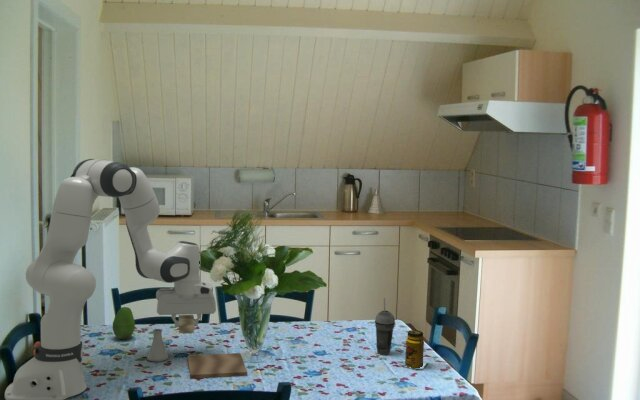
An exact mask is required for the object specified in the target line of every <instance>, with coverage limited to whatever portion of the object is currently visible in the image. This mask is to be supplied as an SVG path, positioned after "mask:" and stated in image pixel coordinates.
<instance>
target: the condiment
mask: <svg viewBox="0 0 640 400" xmlns="http://www.w3.org/2000/svg"><path fill="white" fill-rule="evenodd" d="M406 337H407V338H406V340H405V357H404V358H405V359H404V360H405V362H404V363H405V365H406V366H407V367H411V368H420V367H422V366H423V362H424V351H425V350H424V349H425V347H424V346H425V340H424V332H423V331H421V330H416V329H411V330H408V331H407V336H406Z"/></svg>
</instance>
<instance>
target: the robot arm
mask: <svg viewBox="0 0 640 400" xmlns="http://www.w3.org/2000/svg"><path fill="white" fill-rule="evenodd" d="M72 172H73V173H72V174H71V175H70V177H67V178H65V179H63V180H62V181H61V182H60V184H59V186H58V189H57V192H56V194H55V197H54V202H53V205H52V210H51V216H50V220H49V221H50V222H49V225H48V231H47V236H46V238H45V242H44V244H43V246H42V248H41V250H40V253H38V255H37V257H36V259H34V260H33V261H32V262H30V264H29V265H28V266H27V268H26V271H25V279H26V282H27V284H28V286H29V287H31V288H32V289H33V290H34V291H36V292H37V293H39V294H41V295H45V296H48V297H49V305H48V308H47V311H46V313H45V314H44V315H42V317H41V319H40V340H39V341H36V342H35V343H34V345H33V357H32V358H31V359H30V360H28V361H27V362H25V363H24V364H22V365H21V366H20V367H19V368H18V369H17V370H16V373H15V374H14V377H13V382H11V383H9V385H8V386H7V387H6V389H5V391H4V399H5V400H66V399H67V398H71V397H75V396H76V395H80V394H82V393H83V392H84V391H85V390H86V389H87V387H88V385H87V382H86V379H85V376H84V371H83V369H84V368H83V362H82V361H83V359H84V358H83V356H84V353H83V351H84V348H83V347H84V346H83V341H82V340H81V336H82V335H81V334H82V333H81V332H82V331H81V330H82V329H81V328H82V326H81V325H82V324H81V322H82V315H83V314H82V313H83V310H84V307H85V305H86V302H87V301H88V299H90V298H91V297H92V296H93V295H94V292H95V290H96V286H97V285H96V284H97V283H96V282H97V281H96V278H95V275H94V274H93V272H91V271H90V270H89V269H87V268H86V267H85V266H82V265H80V264H77V263H74V260H75V258H76V256H77V254H78V253H79V250H81V248H83V247H85V245H86V244H87V242H88V238H89V232H90V227H91V221H92V215H93V209H94V208H93V206H94V203H95V201H96V200H97V198H98V197H109V198H110V197H111V198H118V200H119V202H120V205H121V208H122V210H123V213H124V216H125V225H126V230H127V232H128V236H129V238H130V243H131V245H132V249H133V251H134V257H135V269H136V272H137V273H138V274H139V276H140V277H142V278H144V279H151V280H155V281H157V282H158V281H159V282H163V283H167V284H172V283H173V287H161V288H159V289H157V290H156V292H155V298H156V300H157V304H156V313H157V314H158V315H159V316H170V315H171V319H172V321H173V322H174V328H179V320H177V319H176V318H177V317H176V316H177V315H178V316H179V315H196V317H197V318H196V319H194V327H198V325H199V321H200V319H201V318H202V315H211V314H215V313H216V312H217V304H216V297H215V294H214V293H213V292H214V291H213V290H214V289H213V286H212V285H211V284H210V283H208V282H204V281H201V276H200V270H201V263H200V264H199V261H200V262H201V249H200V247H199V244H197V243H195V242H192V241H191V242H190V241H185V240H180V241H177V242H176V245H175V246H174V247H173V248H171V249H170V250H168V251H166V252H163V251H160V250H158V249H156V248H155V246H153V244H152V240H151V237H150V235H149V234H150V233H149V229H148V226H149V225H151V224H153V223H154V222H155V221H156V220H157V219H158V217H159V215H160V212H161V211H160V210H161V209H160V204H159V201H158V198H157V195H156V193H155V191H154V188H153V185H152V184H151V182H150V181H149V179H148V177H147V175H146V174H145V173H144V171H142V169H140V168H138V167H134V166H132V167H130V166H128V165H126V164H125V163H122V162H119V161H112V160H109V159H105V158H104V159H102V158H100V159H99V158H96V159H94V158H88V159H85V160H82V161H80V162H79V163H78V164H77V165H76V166H75V167H74V169H73V171H72ZM199 252H200V253H199ZM199 267H200V268H199Z"/></svg>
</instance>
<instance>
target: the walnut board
mask: <svg viewBox="0 0 640 400" xmlns="http://www.w3.org/2000/svg"><path fill="white" fill-rule="evenodd" d="M187 365H188V371H189V378H190V379H191V380H193V379H205V378H206V379H208V378H209V379H210V378H226V377H245V376H248V370H247V367H246V365H245V362H244V360H243V357H242V353H241V352H235V353H219V354H218V353H216V354H215V353H214V354H195V355H193V354H192V355H187Z"/></svg>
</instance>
